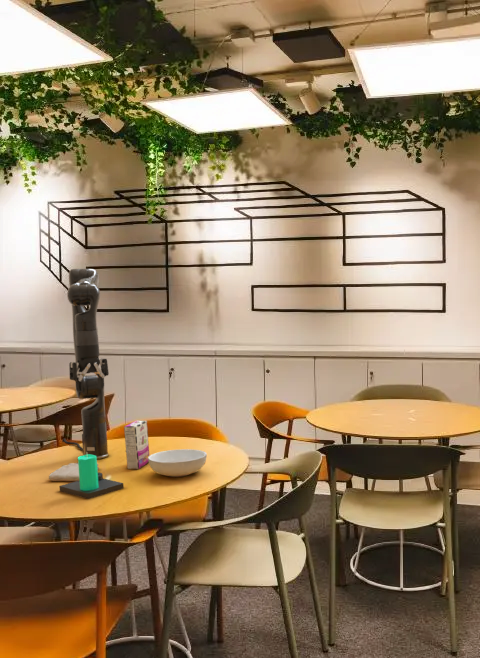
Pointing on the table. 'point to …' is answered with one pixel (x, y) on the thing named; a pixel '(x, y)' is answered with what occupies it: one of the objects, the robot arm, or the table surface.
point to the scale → (104, 488)
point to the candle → (88, 472)
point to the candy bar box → (136, 444)
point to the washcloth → (66, 473)
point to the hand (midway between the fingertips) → (90, 390)
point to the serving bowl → (177, 462)
